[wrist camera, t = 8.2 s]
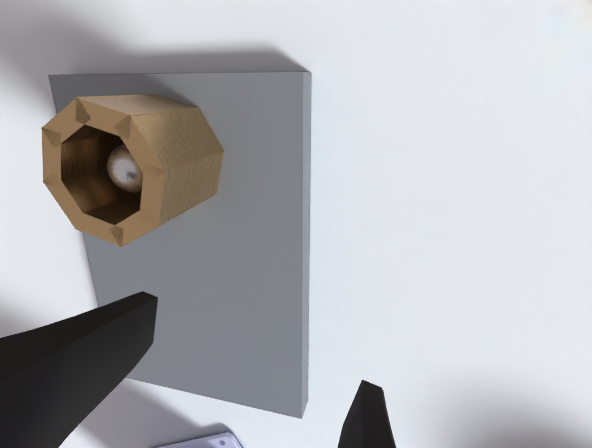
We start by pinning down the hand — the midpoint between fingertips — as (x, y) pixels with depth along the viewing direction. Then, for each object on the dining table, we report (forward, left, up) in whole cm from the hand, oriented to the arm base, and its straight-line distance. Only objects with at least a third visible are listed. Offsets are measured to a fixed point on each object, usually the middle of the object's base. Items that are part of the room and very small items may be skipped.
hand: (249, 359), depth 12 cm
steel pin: (-4, +8, -8) cm, 12 cm away
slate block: (-7, +3, -9) cm, 12 cm away
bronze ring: (-4, +8, -8) cm, 12 cm away
